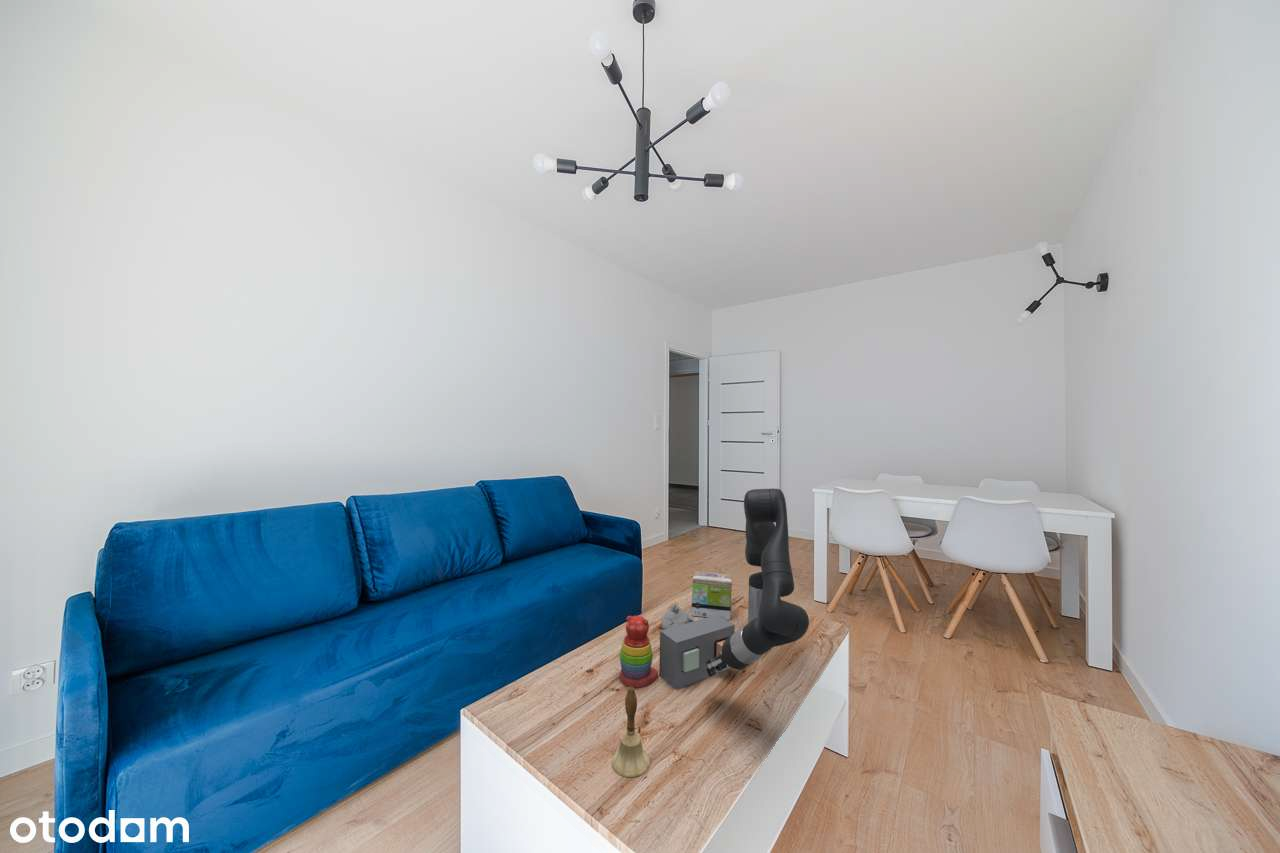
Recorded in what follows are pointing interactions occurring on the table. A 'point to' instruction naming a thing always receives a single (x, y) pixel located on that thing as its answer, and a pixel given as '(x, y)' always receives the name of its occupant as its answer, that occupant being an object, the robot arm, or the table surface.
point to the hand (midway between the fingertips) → (710, 672)
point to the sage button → (690, 659)
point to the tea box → (711, 595)
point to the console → (688, 637)
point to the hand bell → (630, 744)
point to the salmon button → (719, 647)
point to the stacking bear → (636, 654)
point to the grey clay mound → (675, 617)
